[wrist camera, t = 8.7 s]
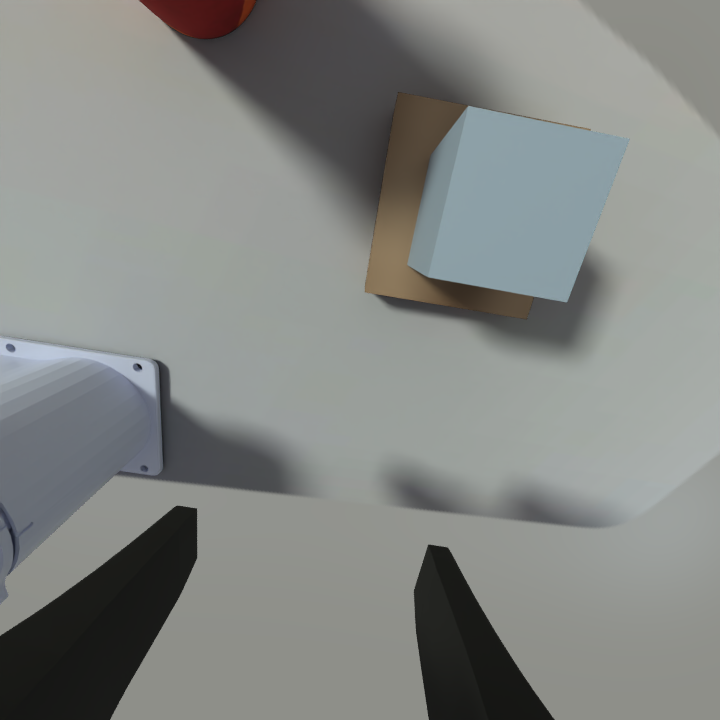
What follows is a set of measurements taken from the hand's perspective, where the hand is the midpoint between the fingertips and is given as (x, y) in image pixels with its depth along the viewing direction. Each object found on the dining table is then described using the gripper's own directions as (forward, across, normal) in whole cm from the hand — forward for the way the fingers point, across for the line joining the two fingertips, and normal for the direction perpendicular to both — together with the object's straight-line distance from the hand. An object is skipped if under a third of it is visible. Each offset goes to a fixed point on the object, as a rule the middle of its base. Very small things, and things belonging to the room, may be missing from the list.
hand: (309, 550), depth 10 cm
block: (+8, -4, -11) cm, 14 cm away
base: (+10, -4, -11) cm, 16 cm away
